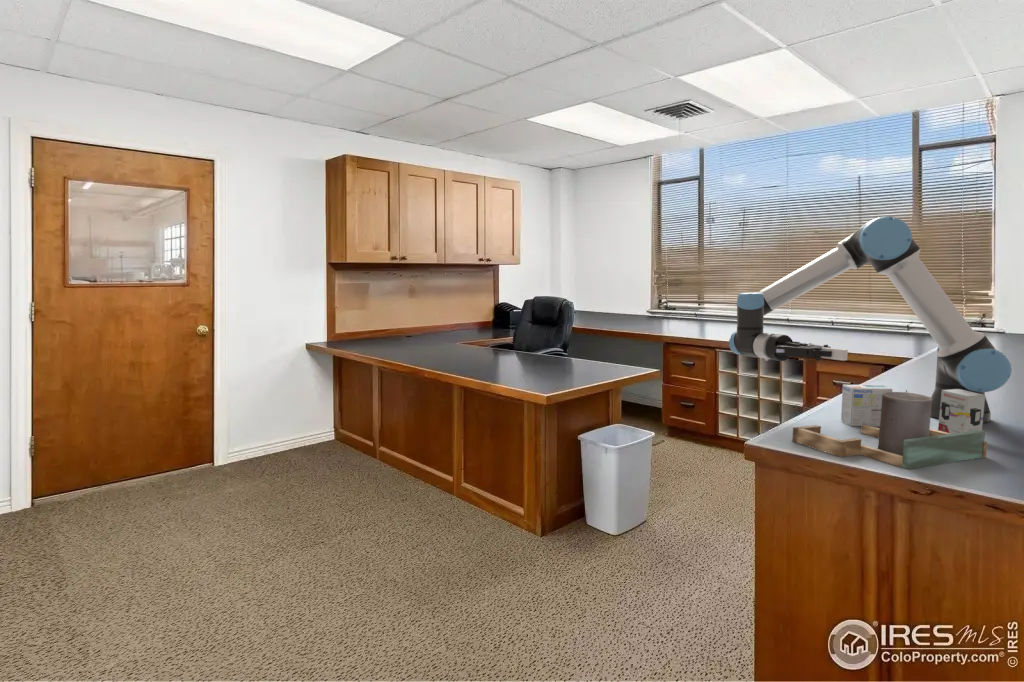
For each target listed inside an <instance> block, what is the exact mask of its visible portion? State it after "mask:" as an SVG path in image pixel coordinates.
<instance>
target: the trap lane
mask: <svg viewBox="0 0 1024 682" xmlns="http://www.w3.org/2000/svg"><path fill="white" fill-rule="evenodd" d="M821 429H822V426H820V425H819V424H818V425H817V424H813V425H806V426H797V427H792V440H791V441H792V442H793V441H795V442H794V443H796V442H798V443H797V444H799V443H801V444H800V445H802V444H804V445H803V446H805V445H807V446H806V447H808V446H810V447H809V448H811V447H813V448H812V449H814V448H816V449H815V450H817V449H819V450H818V451H821V450H822V451H821V452H824V451H826V452H825V453H827V452H828V454H830V453H831V454H830V455H833V454H834V455H833V456H836V455H837V457H839V456H840V457H839V458H845V457H851V456H852V455H853V456H858V455H859V456H865V457H867V458H870V459H875V460H878V461H881V462H884V463H887V464H891V465H893V466H897V467H900V468H902V469H907V470H913V469H918V468H925V467H932V466H938V465H945V464H952V463H957V462H956V461H958V462H964V461H969V459H970V460H976V459H975V458H977V459H984V458H986V457H987V449H988V441H985V440H986V439H985V437H986V431H984V430H982V431H980V430H975V431H967V432H960V433H952V434H951V433H947V432H942V431H938V429H937V430H936V429H933V428H930V429H929V437H923V438H915V439H908V440H904V446H903V456H901V455H897V454H894V453H890V452H887V451H884V450H880V449H878V447H877V448H876V447H873V446H870V445H869V446H868V445H866V444H862V439H860V438H857V437H853V438H852V437H851V438H842V439H839V438H837V437H833V436H830V435H826V434H824V433H821V432H822V431H821ZM879 429H880V427H876V426H868V425H862V426H861V431H860V432H861V434H865V435H867V436H872V437H874V438H878V437H879ZM844 456H845V457H844ZM963 460H964V461H963ZM944 463H945V464H944Z"/></svg>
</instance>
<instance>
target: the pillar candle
mask: <svg viewBox="0 0 1024 682" xmlns="http://www.w3.org/2000/svg"><path fill="white" fill-rule="evenodd" d="M931 405H932V398H931V396H927V395H924V394H920V393H913V392H908V390H905V391H892V392H886V393H883V394H882V406H881V419H880V427H879V428H880V429H879V438H878V444H877V449H880V450H884V451H887V452H890V453H894V454H897V455H901V456H903V446H904V440H908V439H915V438H923V437H929V429H931V428H930V427H931Z"/></svg>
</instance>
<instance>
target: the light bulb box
mask: <svg viewBox="0 0 1024 682" xmlns="http://www.w3.org/2000/svg"><path fill="white" fill-rule="evenodd" d="M886 392H893V388H891V387H888V386H884V385H882V384H842V393H841V394H842V395H841V414H840V421H841V420H842V421H843V422H842V421H841V422H842V423H844V422H845V423H844V424H846V423H847V424H846V425H848V424H849V425H848V426H849V427H862V425H868V426H872V427H876V428H880V419H881V406H882V394H883V393H886Z"/></svg>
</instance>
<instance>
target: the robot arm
mask: <svg viewBox="0 0 1024 682" xmlns="http://www.w3.org/2000/svg"><path fill="white" fill-rule="evenodd" d="M921 250H922V249H921V248H920V246H919V244H917V242H916V241H915V239H914V238H913V233H912V231H911V229H910V226H909V225H908V224H907V223H906V221H903V220H902V219H900V218H898V217H895V216H888V215H887V216H878V217H875V218H873V219H872V220H871V219H870V220H869V221H868V222H866V223H864V224H863V225H861V226H860V227H859V228H858V229H856V231H854V232H853V233H852V234H850V235H848V236H847V237H845V238H844V239H843V240H841V241H839V242H838V243H837V245H836V247H835V248H833V249H831V250H830V251H828V252H826V253H824V254H823V255H820V256H819V257H817V258H815V259H814V260H812V261H811V262H808V263H806V264H805V265H803V266H802V267H799V268H798V269H796V270H794V271H793V272H791V273H789V274H787V275H785V276H784V277H782V278H779V280H776V281H775V282H773V283H771V284H769V285H768V286H766V287H763V289H761V290H759V291H758V292H739V293H738V295H737V300H736V322H737V324H736V331H734V332H733V333H731V335H730V338H729V340H728V345H729V348H730V351H731V352H732V353H734V354H736V355H740V356H743V357H748V358H749V357H750V358H758V359H764V361H765V362H768V361H769V360H773V361H779V362H784V361H785V362H786V361H787V360H789V359H791V357H799V358H808V359H813V358H815V361H821V359H827V360H835V361H844V362H845V361H848V355H849V354H848V353H849V351H848V349H844V348H836V347H835V348H834V347H831V346H829V344H823V345H821V344H820V345H819V344H815V343H811V342H810V343H805V342H800V341H793V339H792V338H791V337H790V336H789V335H787V334H778V333H769V332H764V319H765V316H766V315H768V314H770V313H771V312H773V311H775V310H777V309H779V308H780V307H782V306H784V305H786V304H788V303H790V302H791V301H793V300H796V299H797V298H798V297H800V296H803V295H805V294H807V293H808V292H810V291H812V290H814V289H815V288H817V287H819V286H821V285H823V284H824V283H826V282H829V281H830V280H832V279H834V278H835V277H838V276H839V275H842V274H844V273H846V272H847V271H849V270H857V269H859V268H862V267H863V266H866V265H868V264H870V265H871V267H873V269H874V271H875V272H876V273H877V274H878V275H884V276H887V278H888V279H889V281H890V282H891V283H892V285H893V286H894V287H895V288H896V290H897V291H898V293H899V294H900V295H901V297H902V298H903V300H904V301H905V302H906V303H907V305H908V306H909V307H910V309H911V310H912V312H913V313H914V314H915V316H916V318H918V320H919V321H920V322H921V324H922V326H923V327H924V328H925V329H926V331H927V332H928V333H929V335H930V336H931V337H932V339H933V341H935V343H936V344H937V349H936V352H937V358H936V369H935V371H936V372H935V386H934V390H933V392H932V395H931V396H930V397H931V398H932V405H931V416H930V418H936V419H939V415H940V404H941V393H942V390H951V389H961V390H965V391H970V392H974V393H978V394H982V395H984V396H985V404H984V414H983V424H984V423H989V422H991V414H992V413H991V410H990V406H989V404H988V399H987V396H986V393H988V392H989V393H990V392H993V391H996V390H998V389H1000V388H1002V387H1003V386H1004V385H1005V384H1006V383H1008V381H1009V380H1010V377H1011V375H1012V364H1011V362H1010V359H1009V358H1008V357H1007V356H1006V355H1005V354H1004V353H1003V352H1001V351H1000V350H997V349H996V348H995V346H994V345H993V344H992V342H991V341H990V340H989V338H988V337H987V336H986V334H985V333H984V332H979V331H975V330H973V329H972V327H971V325H970V324H969V323H968V321H967V320H966V318H965V317H964V316H963V315H962V313H961V312H960V311H959V309H958V308H957V307H956V306H955V304H954V303H953V301H951V299H950V297H949V296H948V295H947V293H946V292H945V290H944V289H943V288H942V287H941V285H940V284H939V282H938V281H937V280H936V278H935V277H934V276H933V275H932V274H931V272H930V270H928V268H927V266H926V265H925V264H924V263H923V261H922V260H921V259H920V253H921Z"/></svg>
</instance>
